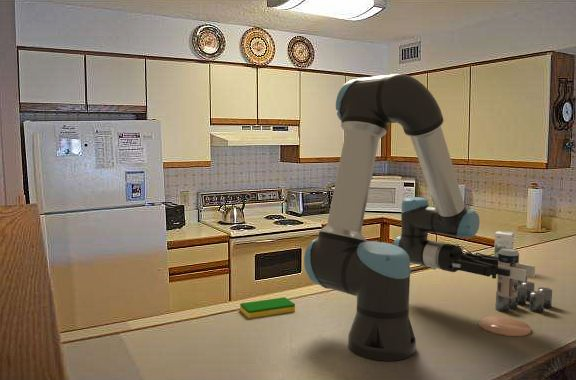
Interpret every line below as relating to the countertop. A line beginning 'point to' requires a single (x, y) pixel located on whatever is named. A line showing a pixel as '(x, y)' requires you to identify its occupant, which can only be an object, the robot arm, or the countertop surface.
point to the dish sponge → (267, 307)
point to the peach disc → (505, 326)
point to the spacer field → (526, 298)
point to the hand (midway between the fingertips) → (529, 273)
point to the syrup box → (503, 241)
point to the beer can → (505, 285)
